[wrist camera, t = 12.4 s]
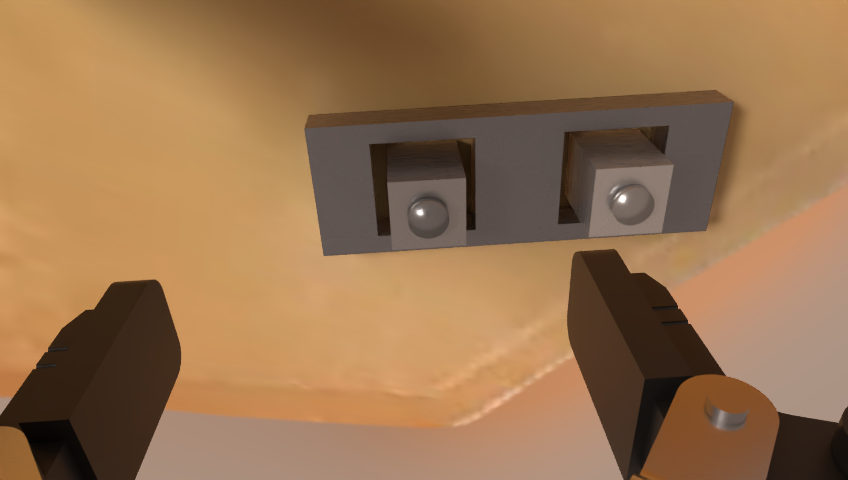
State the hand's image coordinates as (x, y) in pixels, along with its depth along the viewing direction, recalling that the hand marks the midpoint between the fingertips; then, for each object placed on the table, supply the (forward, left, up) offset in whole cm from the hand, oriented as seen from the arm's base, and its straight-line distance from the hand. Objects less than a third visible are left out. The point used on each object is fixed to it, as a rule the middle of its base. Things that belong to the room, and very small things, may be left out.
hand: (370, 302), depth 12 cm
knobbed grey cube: (+10, +2, -28) cm, 30 cm away
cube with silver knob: (+10, +14, -28) cm, 33 cm away
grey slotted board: (+10, +8, -28) cm, 31 cm away
